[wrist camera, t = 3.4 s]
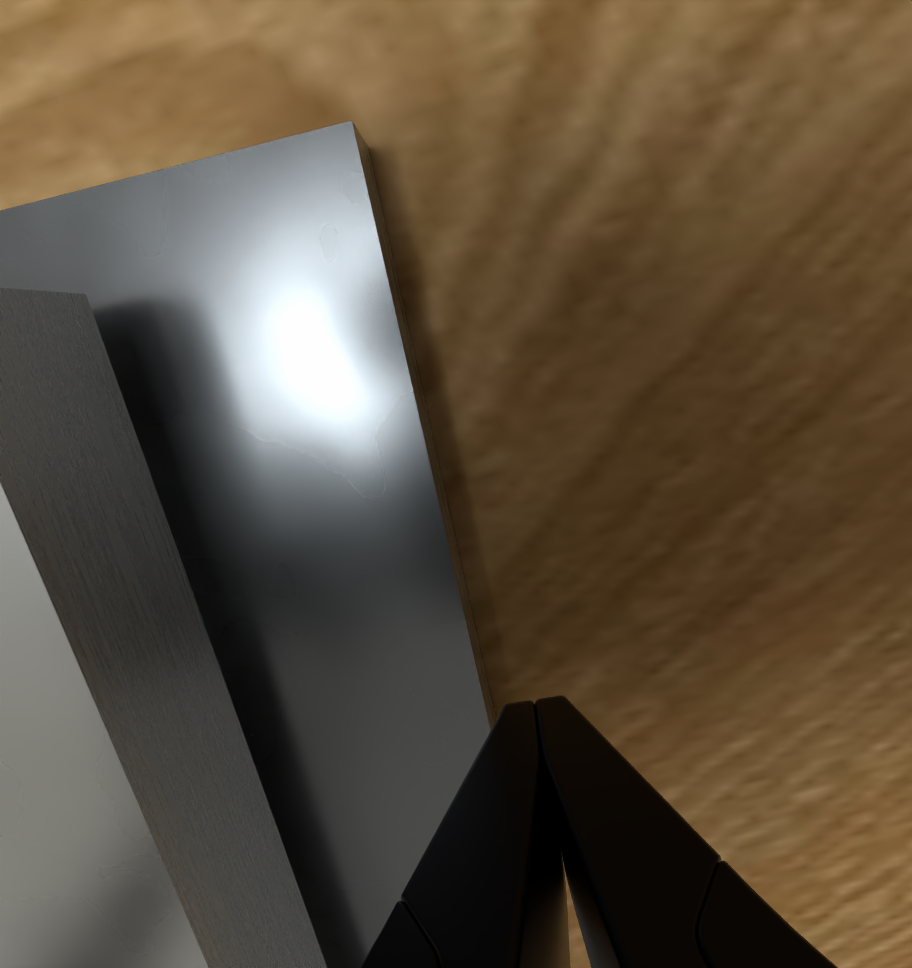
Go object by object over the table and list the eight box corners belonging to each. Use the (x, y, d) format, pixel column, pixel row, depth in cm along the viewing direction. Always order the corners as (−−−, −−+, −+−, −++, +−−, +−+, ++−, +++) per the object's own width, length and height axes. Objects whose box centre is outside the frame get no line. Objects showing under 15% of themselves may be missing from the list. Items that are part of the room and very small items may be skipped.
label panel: (585, 1120, 15) (596, 1199, 14) (23, 1167, 16) (-18, 1243, 15) (367, 146, 9) (348, 115, 8) (-475, 357, 11) (-615, 363, 9)
